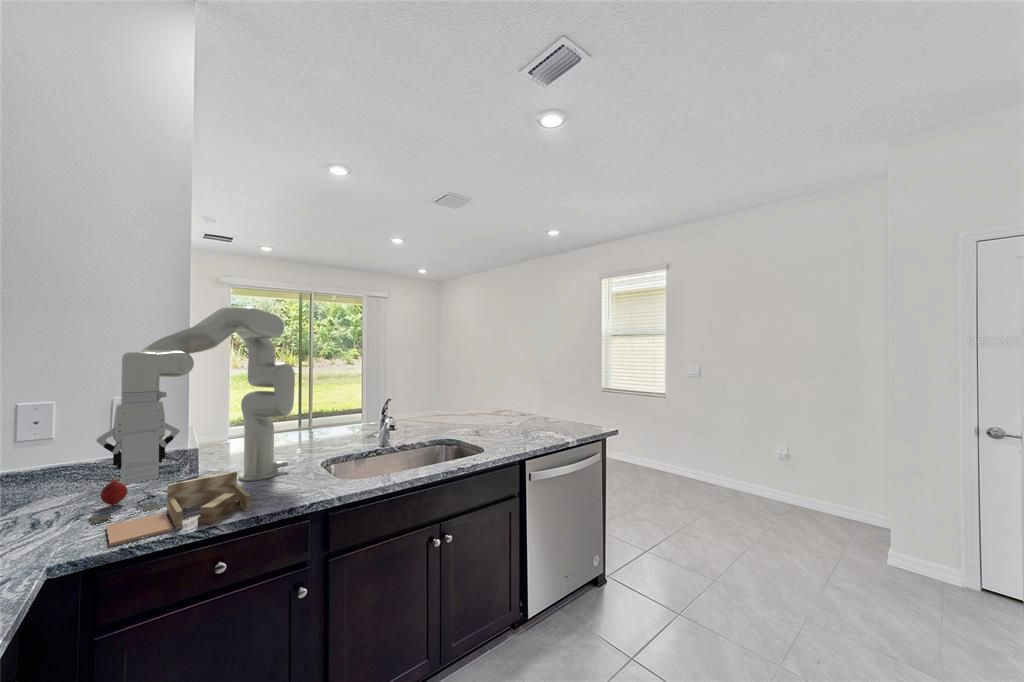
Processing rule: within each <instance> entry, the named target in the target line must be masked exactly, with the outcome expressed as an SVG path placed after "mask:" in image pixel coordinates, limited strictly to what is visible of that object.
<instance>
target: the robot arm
mask: <svg viewBox="0 0 1024 682" xmlns="http://www.w3.org/2000/svg"><path fill="white" fill-rule="evenodd" d="M284 332H285V323H284V321H283V319H282V318H281V317H280V316H278V315H276V314H274V313H271V312H268V311H265V310H263V309H259V308H256V307H253V306H225V307H221V308H219V309H217V310H216V311H214V312H213V313H211V314H210V315H208V316H207V317H205V318H204V319H202V320H201V321H200V322H198V323H196V324H195V325H193V326H191V327H189V328H185V329H182V330H180V331H177V332H174V333H172V334H169V335H166V336H164V337H162V338H159V339H157V340H155V341H154V342H152V343H151V344H149V345H147V346H146V347H144V348H142V350H140V351H128V352H124V354H123V355H122V357H121V393H120V394H121V395H120V396H121V397H120V398H121V400H120V402H121V403H118V404H116V409H115V413H114V418H113V419H114V420H113V428H111V429H110V430H108V431H107V432H105V433H103V434H102V435H101V436H99V437H97V438H96V442H97V443H98V444H99V445H101V446H102V447H103V448H104V449H106V450H107V451H109V452H111V453H112V455H113V456H112V461H113V462H112V464H113V465H112V466H114V467H115V466H116V469H117V470H121V436H122V435H126V434H134V433H142V432H150V431H159V463H162V462H163V459H166V447H167V445H169V443H171V442H172V441H174V439H175V437H176V436H177V435H178V434H179V433H180V429H179V428H176V427H175V426H173V425H171V424H169V423H166V418H165V415H166V414H165V407H164V403H163V401H161V400H160V399H162V398H167V392H166V391H165V392H163V391H161V390H160V378H161V377H163V378H164V377H165V378H177V377H178V378H179V377H183V376H186V375H187V374H188V373H190V372H191V371H192V370H193V368H194V366H195V361H194V358H193V357H192V356H191V354H195V353H202V352H205V351H208V350H212V349H214V348H216V347H218V346H219V345H220V344H221V343H223V342H224V341H225V340H226V339H228V338H229V337H231V336H232V335H233V334H235V333H236V334H237V335H238V337H240V338H241V339H242V340H243V342H244V343H245V345H246V347H247V350H248V357H247V358H248V359H247V360H248V361H247V362H248V363H247V382H248V384H249V385H250V386H252V387H255V388H270V389H271V388H272V389H273V391H271V390H254V391H250V392H248V393H246V394H245V395H244V396H243V397H242V398H241V403H240V405H241V406H240V408H241V412H242V418H243V426H244V427H243V428H244V429H243V430H244V431H243V432H244V435H243V441H244V442H243V443H244V444H243V471H242V472H241V473H239V474H238V480H240V481H246V482H247V481H248V482H251V481H252V482H253V481H261V480H267V479H270V478H272V477H275V476H277V475H278V474H279V469H280V468H285V467H288V466H289V464H288V463H289V462H288V461H287V460H286V461H282V460H281V461H275V460H274V459H275V458H274V457H275V455H274V454H275V450H274V449H275V426H274V423H273V420H272V418H285V417H287V416H289V415H290V414H291V413H292V411H293V408H294V401H295V387H296V385H295V383H296V381H295V380H296V377H295V376H296V374H295V370H294V368H293V366H291V364H290V363H288V362H283V361H277V362H276V354H275V353H276V350H275V346H274V344H273V342H272V340H271V339H276V338H280V337H281V336H282V335H283V334H284ZM166 431H170V433H169V435H167V436H166V437H165V435H166ZM112 436H113V440H114V442H115V444H114V445H113V444H112V443H110V442H109V441H108V440H107V439H109V438H110V437H112ZM163 437H165V438H163Z"/></svg>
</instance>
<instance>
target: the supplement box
mask: <svg viewBox="0 0 1024 682" xmlns="http://www.w3.org/2000/svg"><path fill="white" fill-rule="evenodd" d="M120 452H121V468H120V479H121V480H120V481H121V483H122V485H128V484H134V483H140V482H145V481H150V480H157V479H160V478H159V474H160V473H159V472H160V471H159V469H160V467H159V466H160V464H159V431H150V432H142V433H134V434H126V435H122V436H121V449H120Z"/></svg>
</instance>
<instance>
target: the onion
mask: <svg viewBox="0 0 1024 682" xmlns="http://www.w3.org/2000/svg"><path fill="white" fill-rule="evenodd" d="M128 492H129V491H128V487H127V486H126V484H124V485H122V482H120V481H119V479H118V478H114V479H113V480H112V481H111V482H109V483H108V484H107V485H106V486H105V487H103V488H102V490H101V492H100V499H101V501H102V502H103V503H105V504H107V505H110V506H115V505H114V504H117V505H118V504H119V503H120V502H121V501H123V500H124V499H125V498H126V496H127V495H128Z"/></svg>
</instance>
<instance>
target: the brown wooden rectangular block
mask: <svg viewBox="0 0 1024 682" xmlns="http://www.w3.org/2000/svg"><path fill="white" fill-rule="evenodd" d="M238 508H239V509H240V508H241V506H240V500H236V493H225V494H223V495H221V496H220V497H218V498H216V499H214V500H212V501H211V502H209V503H207V504H204V505H201V506H200V507H199V509H200V511H199V516H197V526H212V525H214V524H216V523H217V522H219V521H221V520H222V519H224V518H225V517H228V516H229V515H231V514H233V512H236V511H237V510H239V509H238Z"/></svg>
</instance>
